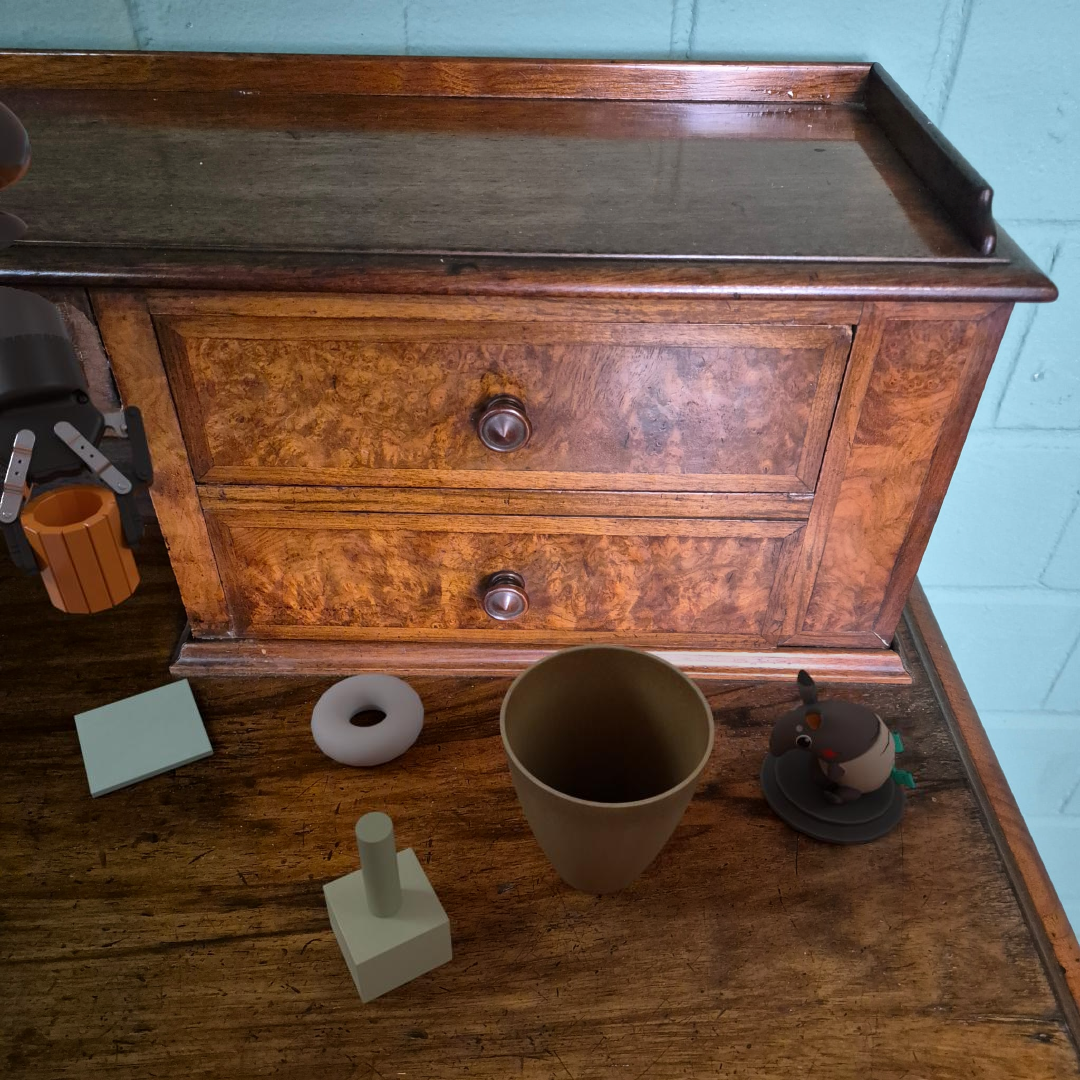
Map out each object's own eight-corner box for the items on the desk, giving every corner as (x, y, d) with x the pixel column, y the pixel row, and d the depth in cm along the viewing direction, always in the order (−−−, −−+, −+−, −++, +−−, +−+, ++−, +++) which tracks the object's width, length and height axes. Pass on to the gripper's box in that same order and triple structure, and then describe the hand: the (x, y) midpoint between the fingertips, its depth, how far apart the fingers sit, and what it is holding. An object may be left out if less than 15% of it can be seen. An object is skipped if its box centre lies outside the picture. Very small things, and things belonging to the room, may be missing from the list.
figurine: (918, 851, 76) (958, 752, 69) (767, 842, 77) (792, 743, 70) (885, 743, 85) (917, 647, 78) (751, 736, 86) (771, 639, 79)
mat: (93, 798, 79) (91, 793, 79) (75, 720, 86) (74, 715, 86) (213, 754, 83) (212, 749, 83) (188, 682, 90) (186, 678, 90)
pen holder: (56, 623, 70) (25, 543, 66) (46, 576, 75) (16, 497, 70) (146, 597, 73) (121, 518, 68) (131, 553, 77) (107, 475, 73)
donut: (291, 734, 85) (361, 794, 80) (285, 707, 83) (356, 766, 78) (377, 677, 91) (448, 728, 86) (373, 650, 89) (446, 701, 84)
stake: (363, 1004, 66) (341, 890, 58) (330, 925, 70) (306, 809, 62) (452, 959, 68) (443, 844, 60) (415, 886, 73) (402, 770, 65)
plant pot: (496, 788, 81) (493, 649, 71) (668, 775, 82) (687, 638, 72) (509, 952, 69) (507, 812, 59) (710, 935, 70) (740, 795, 61)
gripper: (-103, 352, 65) (-33, 580, 64) (116, 313, 71) (184, 522, 70) (-76, 389, 72) (-12, 596, 71) (122, 351, 78) (184, 542, 77)
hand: (85, 558), depth 71 cm, fingers closed on pen holder, 6 cm apart
